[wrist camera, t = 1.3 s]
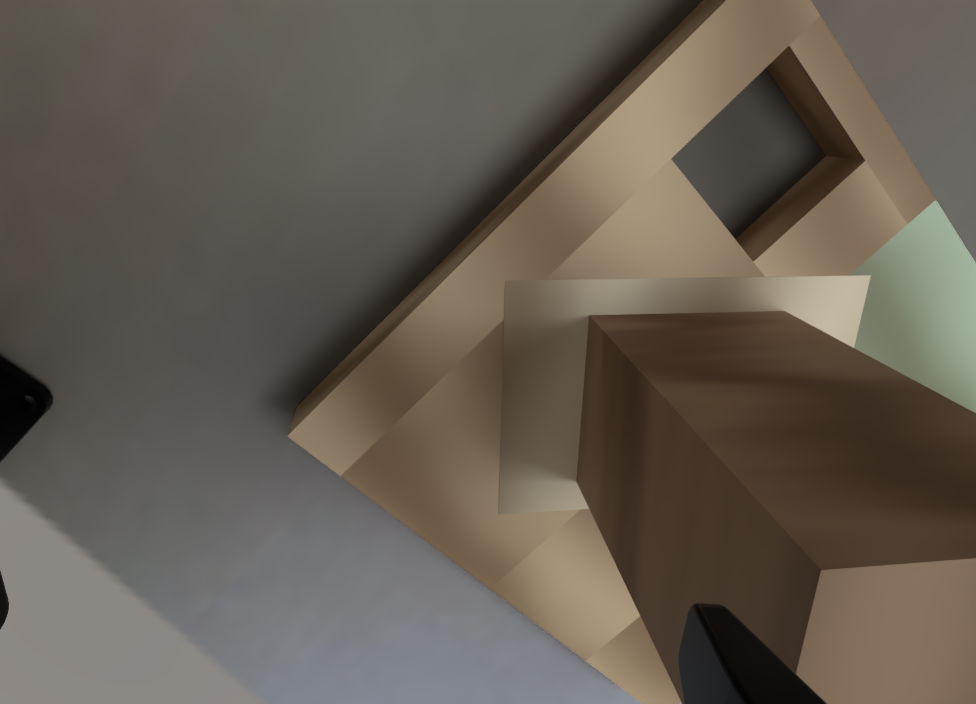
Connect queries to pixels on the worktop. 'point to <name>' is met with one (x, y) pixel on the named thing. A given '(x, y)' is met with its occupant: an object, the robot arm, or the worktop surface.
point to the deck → (642, 303)
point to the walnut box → (786, 498)
